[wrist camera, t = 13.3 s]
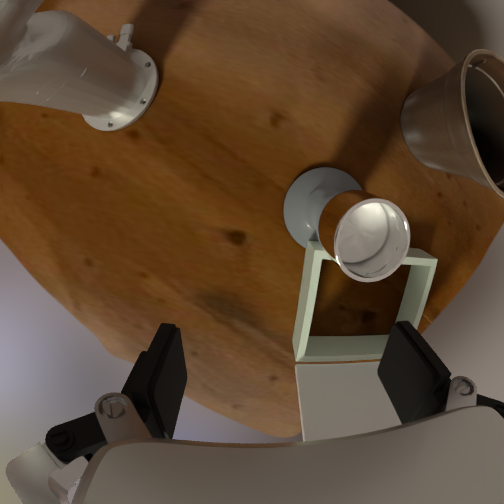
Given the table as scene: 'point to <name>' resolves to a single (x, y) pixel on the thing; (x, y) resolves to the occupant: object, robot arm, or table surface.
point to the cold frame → (356, 345)
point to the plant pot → (461, 121)
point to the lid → (342, 400)
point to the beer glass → (359, 231)
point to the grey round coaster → (300, 194)
